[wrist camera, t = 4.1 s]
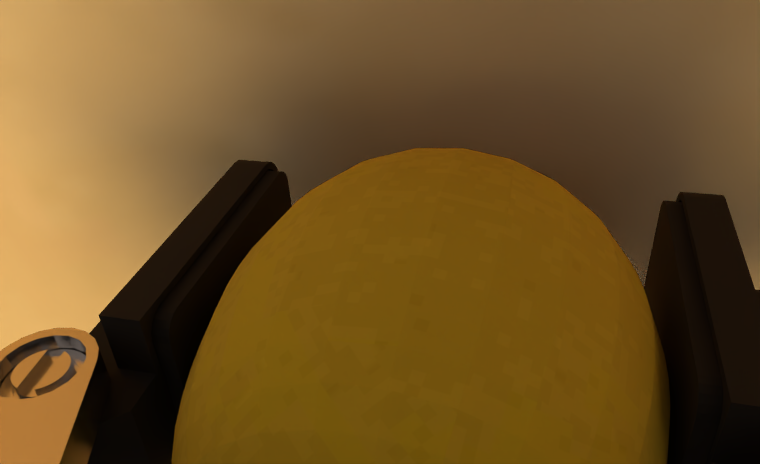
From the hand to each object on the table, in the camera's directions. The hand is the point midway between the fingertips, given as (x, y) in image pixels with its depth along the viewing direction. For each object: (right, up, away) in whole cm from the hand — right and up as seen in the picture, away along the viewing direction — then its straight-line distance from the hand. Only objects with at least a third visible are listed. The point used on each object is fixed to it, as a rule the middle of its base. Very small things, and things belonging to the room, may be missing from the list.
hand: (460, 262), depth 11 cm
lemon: (0, +1, +1) cm, 1 cm away
